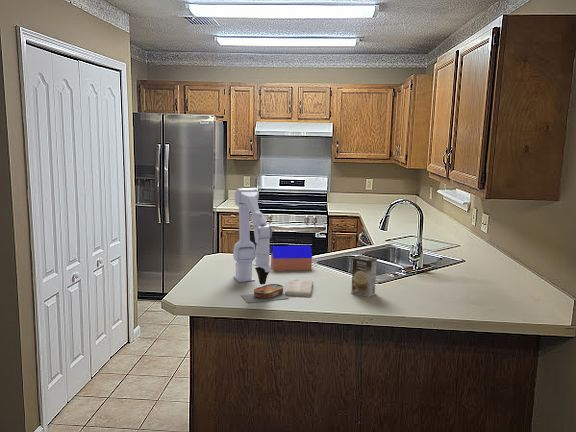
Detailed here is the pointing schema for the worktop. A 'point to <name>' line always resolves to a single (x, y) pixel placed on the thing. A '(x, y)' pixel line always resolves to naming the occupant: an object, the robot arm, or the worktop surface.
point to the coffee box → (364, 276)
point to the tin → (268, 291)
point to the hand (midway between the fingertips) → (262, 284)
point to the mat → (252, 299)
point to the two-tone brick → (291, 258)
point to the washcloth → (298, 288)
